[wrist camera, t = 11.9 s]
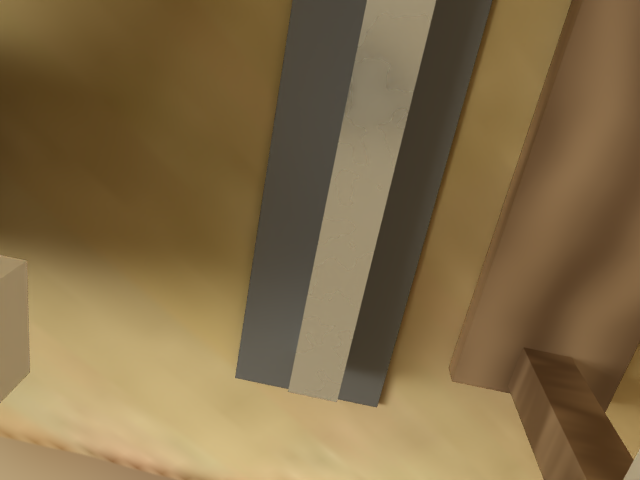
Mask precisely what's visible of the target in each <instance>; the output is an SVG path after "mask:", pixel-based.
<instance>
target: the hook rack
mask: <svg viewBox="0 0 640 480" xmlns="http://www.w3.org/2000/svg"><path fill="white" fill-rule="evenodd" d="M639 342H640V0H572V2H571V5H570V8H569V11H568V14H567V17H566V20H565V23H564V26H563V29H562V32H561V35H560V38H559V41H558V44H557V47H556V50H555V53H554V56H553V59H552V62H551V65H550V68H549V71H548V74H547V77H546V80H545V83H544V86H543V89H542V92H541V95H540V98H539V101H538V104H537V107H536V110H535V113H534V116H533V119H532V121H531V124H530V127H529V130H528V133H527V136H526V139H525V142H524V145H523V148H522V151H521V154H520V157H519V160H518V163H517V166H516V169H515V172H514V175H513V178H512V181H511V184H510V187H509V190H508V193H507V196H506V199H505V202H504V205H503V208H502V211H501V214H500V217H499V220H498V223H497V226H496V229H495V232H494V235H493V238H492V241H491V243H490V246H489V249H488V252H487V255H486V258H485V261H484V264H483V267H482V270H481V273H480V276H479V279H478V282H477V285H476V288H475V291H474V294H473V297H472V300H471V303H470V306H469V309H468V312H467V315H466V318H465V321H464V324H463V327H462V330H461V333H460V336H459V339H458V342H457V345H456V348H455V351H454V354H453V357H452V360H451V363H450V366H449V371H450V375H451V379H452V381H453V382H458V383H462V384H467V385H472V386H477V387H482V388H486V389H491V390H496V391H501V392H506V393H511V396H512V398H513V401H514V403H515V406H516V409H517V411H518V414H519V416H520V419H521V422H522V424H523V427H524V429H525V432H526V435H527V437H528V440H529V442H530V445H531V448H532V450H533V453H534V455H535V458H536V461H537V463H538V466H539V468H540V471H541V474H542V476H543V479H544V480H623V479H624V477H625V475H626V474H627V472H628V470H629V468H630V466H631V464H632V463H633V461H634V460H633V458H632V457H631V455H630V453H629V452H628V450H627V448H626V447H625V445H624V444H623V442H622V440H621V439H620V437H619V435H618V434H617V432H616V430H615V429H614V427H613V425H612V424H611V422H610V420H609V419H608V417H607V416H606V414H605V412H606V410H607V408H608V406H609V404H610V402H611V400H612V398H613V395H614V393H615V391H616V389H617V387H618V385H619V383H620V381H621V379H622V377H623V375H624V373H625V371H626V369H627V367H628V365H629V363H630V361H631V359H632V357H633V355H634V353H635V351H636V349H637V347H638V344H639Z"/></svg>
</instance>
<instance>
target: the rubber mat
mask: <svg viewBox="0 0 640 480" xmlns="http://www.w3.org/2000/svg"><path fill="white" fill-rule="evenodd" d="M366 3H367V0H293V2H292V9H291V15H290V22H289V28H288V35H287V41H286V48H285V54H284V61H283V68H282V74H281V81H280V87H279V94H278V100H277V107H276V113H275V120H274V127H273V133H272V140H271V146H270V153H269V159H268V166H267V172H266V179H265V186H264V192H263V199H262V205H261V212H260V218H259V225H258V231H257V238H256V245H255V251H254V258H253V264H252V271H251V277H250V284H249V290H248V297H247V304H246V310H245V317H244V323H243V330H242V336H241V343H240V349H239V356H238V363H237V369H236V376H235V378H238V379H243V380H248V381H253V382H257V383H262V384H267V385H272V386H277V387H281V388H286V389H289V385H290V380H291V375H292V370H293V365H294V360H295V355H296V350H297V345H298V340H299V335H300V330H301V325H302V320H303V315H304V310H305V305H306V300H307V295H308V290H309V285H310V280H311V276H312V271H313V266H314V261H315V256H316V251H317V246H318V241H319V236H320V231H321V226H322V221H323V216H324V211H325V206H326V201H327V196H328V191H329V186H330V181H331V176H332V172H333V167H334V162H335V157H336V152H337V147H338V142H339V137H340V132H341V127H342V122H343V117H344V112H345V107H346V102H347V97H348V92H349V87H350V82H351V77H352V72H353V67H354V63H355V58H356V53H357V48H358V43H359V38H360V33H361V28H362V23H363V18H364V13H365V8H366ZM491 4H492V0H436V3H435V7H434V11H433V16H432V20H431V24H430V28H429V32H428V36H427V40H426V44H425V48H424V52H423V56H422V60H421V64H420V68H419V72H418V76H417V80H416V84H415V88H414V92H413V96H412V100H411V104H410V109H409V113H408V117H407V121H406V125H405V129H404V133H403V137H402V141H401V145H400V149H399V153H398V157H397V161H396V165H395V169H394V173H393V177H392V181H391V185H390V189H389V193H388V197H387V202H386V206H385V210H384V214H383V218H382V222H381V226H380V230H379V234H378V238H377V242H376V246H375V250H374V254H373V258H372V262H371V266H370V270H369V274H368V278H367V282H366V286H365V290H364V295H363V299H362V303H361V307H360V311H359V315H358V319H357V323H356V327H355V331H354V335H353V339H352V343H351V347H350V351H349V355H348V359H347V363H346V367H345V371H344V375H343V379H342V383H341V388H340V392H339V396H338V399H339V400H344V401H349V402H353V403H358V404H363V405H368V406H373V407H377V406H378V402H379V398H380V395H381V391H382V388H383V384H384V381H385V377H386V374H387V370H388V367H389V363H390V360H391V356H392V353H393V349H394V346H395V342H396V339H397V335H398V332H399V328H400V324H401V321H402V317H403V314H404V310H405V307H406V303H407V300H408V296H409V293H410V289H411V286H412V282H413V279H414V275H415V272H416V268H417V265H418V261H419V257H420V254H421V250H422V247H423V243H424V240H425V236H426V233H427V229H428V226H429V222H430V219H431V215H432V212H433V208H434V205H435V201H436V198H437V194H438V190H439V187H440V183H441V180H442V176H443V173H444V169H445V166H446V162H447V159H448V155H449V152H450V148H451V145H452V141H453V138H454V134H455V131H456V127H457V124H458V120H459V116H460V113H461V109H462V106H463V102H464V99H465V95H466V92H467V88H468V85H469V81H470V78H471V74H472V71H473V67H474V64H475V60H476V57H477V53H478V49H479V46H480V42H481V39H482V35H483V32H484V28H485V25H486V21H487V18H488V14H489V11H490V7H491Z"/></svg>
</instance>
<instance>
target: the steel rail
mask: <svg viewBox="0 0 640 480" xmlns="http://www.w3.org/2000/svg"><path fill="white" fill-rule="evenodd" d="M435 3H436V0H367V3H366V8H365V13H364V18H363V23H362V28H361V33H360V38H359V43H358V48H357V53H356V58H355V63H354V67H353V72H352V77H351V82H350V87H349V92H348V97H347V102H346V107H345V112H344V117H343V122H342V127H341V132H340V137H339V142H338V147H337V152H336V157H335V162H334V167H333V172H332V176H331V181H330V186H329V191H328V196H327V201H326V206H325V211H324V216H323V221H322V226H321V231H320V236H319V241H318V246H317V251H316V256H315V261H314V266H313V271H312V276H311V280H310V285H309V290H308V295H307V300H306V305H305V310H304V315H303V320H302V325H301V330H300V335H299V340H298V345H297V350H296V355H295V360H294V365H293V370H292V375H291V380H290V385H289V389H288V392H291V393H296V394H301V395H306V396H310V397H315V398H320V399H325V400H330V401H334V402H337V400H338V396H339V392H340V388H341V383H342V379H343V375H344V371H345V367H346V363H347V359H348V355H349V351H350V347H351V343H352V339H353V335H354V331H355V327H356V323H357V319H358V315H359V311H360V307H361V303H362V299H363V295H364V290H365V286H366V282H367V278H368V274H369V270H370V266H371V262H372V258H373V254H374V250H375V246H376V242H377V238H378V234H379V230H380V226H381V222H382V218H383V214H384V210H385V206H386V202H387V197H388V193H389V189H390V185H391V181H392V177H393V173H394V169H395V165H396V161H397V157H398V153H399V149H400V145H401V141H402V137H403V133H404V129H405V125H406V121H407V117H408V113H409V109H410V104H411V100H412V96H413V92H414V88H415V84H416V80H417V76H418V72H419V68H420V64H421V60H422V56H423V52H424V48H425V44H426V40H427V36H428V32H429V28H430V24H431V20H432V16H433V11H434V7H435Z"/></svg>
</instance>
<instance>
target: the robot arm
mask: <svg viewBox="0 0 640 480" xmlns="http://www.w3.org/2000/svg"><path fill="white" fill-rule="evenodd" d="M29 373H30V354H29V316H28V279H27V260H22V259H17V258H13V257H8V256H3V255H0V403H1V401H2V400H3V399H4V398H5V397H6V396H7V395H8V394H9V393H10V392H11V391H12V390H13V389H14V388H15V387H16V386H17V385H18V384H19V383H20V382H21V381H22V380H23V379H24V378H25V377H26V376H27V375H28V374H29ZM623 480H640V450H639V451H638V453H637V455H636V457H635V459H634V461H633V463H632V464H631V466H630V468H629V470H628V472H627V474H626V475H625V477H624V479H623Z"/></svg>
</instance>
